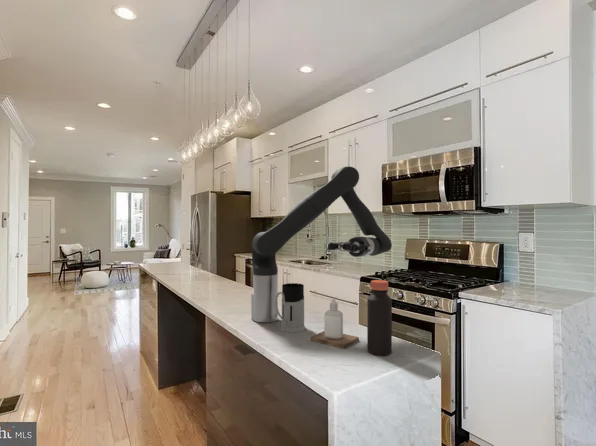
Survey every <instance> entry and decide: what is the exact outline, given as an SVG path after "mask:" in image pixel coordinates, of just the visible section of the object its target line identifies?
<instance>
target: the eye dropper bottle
mask: <svg viewBox="0 0 596 446" xmlns="http://www.w3.org/2000/svg"><path fill="white" fill-rule="evenodd" d="M331 300H332V301H331V302H329V309H328V310H326V311H325V312H324V331H325V337H327V338H332V339H341V338H342V337H343V334H344V315H343V312H342V311H341V310H339V309H338V308H339V306H338V305H339V304H338V302H336V298H334V297H333V298H332V299H331Z"/></svg>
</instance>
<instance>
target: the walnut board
mask: <svg viewBox="0 0 596 446" xmlns="http://www.w3.org/2000/svg"><path fill="white" fill-rule="evenodd" d="M359 340H360V337H359V336H354V335H351V334H346V333H343V337H342V338H341V339H332V338H327V337H325V330H324V331H321V332H319V333H317V334H315V335H313V336H310V341H311V342H315V343H321V344H323V345H324V344H325V345H328V346H332V347H337V348H341V349H347V348H349V347H350V346H352V345H354V344H355V343H357V342H358V341H359Z"/></svg>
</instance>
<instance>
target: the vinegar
mask: <svg viewBox="0 0 596 446" xmlns="http://www.w3.org/2000/svg"><path fill="white" fill-rule="evenodd" d="M370 291H371V294H370V295H369V296H368V297H367V302H366V304H367V307H366V308H367V309H366V310H367V314H366V315H367V318H366V319H367V321H366V323H367V325H366V326H367V327H366V328H367V331H366V332H367V333H366V334H367V336H366V338H367V341H366V342H367V345H366V346H367V347H366V348H367V349H366V350H367V352H368V353H369V354H371V355H374V356H380V357H383V356H384V357H386V356H390V355H391V354H393V353H392V352H393V348H392V347H393V346H392V345H393V343H392V342H393V338H392V337H393V335H392V333H393V329H392V328H393V326H392V325H393V324H392V323H393V318H392V317H393V316H392V315H393V312H392V311H393V308H392V306H393V303H392V302H393V299H392V298H391V296H389V295H388V292H389V281H388V280H384V279H372V280H371V281H370Z"/></svg>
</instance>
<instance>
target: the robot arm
mask: <svg viewBox="0 0 596 446" xmlns="http://www.w3.org/2000/svg"><path fill="white" fill-rule="evenodd" d="M359 180H360V174H359V171H358V170H357V168H355V167H353V166H349V165H348V166H347V165H346V166H343V167H341V168H339V169H337V170H335V171H334V172H333V173H332V175H331V178H330V180H328V182H327V183H326V184H324V185H322V186H321V187H318V188H317V189H316V190H314V191H312V192H311V193H309V194H308V195H306V196H305V197H303V198H302V199H301V200H299V201H298V202H297V203H296V204H294V206H293V207H292V208H291V209H290V210H289V211H288V212H287V214H286V215H285V217H283V219H281V221H279V222H278V223H277V224H276V225H274V226H273V227H271V228H269V229H267V231H261V232H257V233H256V235H255V236H254V237H253V239H252V242H251V264H252V272H253V276H252V277H253V281H252V282H253V283H252V285H253V288H252V289H253V293H251V294H250V295H251V298H250V299H251V301H250V303H251V304H250V305H251V306H250V307H251V308H250V309H251V310H250V311H251V313H250V314H251V315H250V316H251V320H253V321H254V322H256V323H272V322H276V321H278V318H279V316H278V314H277V311H276V306H275V298H276V295H277V293H279V290H278V289H279V284H278V283H279V280H278V279H279V276H278V275H279V273H278V272H279V271H278V270H279V269H278V265H277V259H276V254H278V252H279V251H280V250H281V249H282V248H283V247H284V246H285V245H286V244H287V243H288V241H290V240H291V238H293V237H294V236H295V235H296V234H298V233H299V232H301V231H303V229H305V228H306V227H307V226H308V225H310V224H311V223H312V222H313V221H315V220H316V219H317V218H318V217H319V216H320V215H322V214H323V213H324V212H325V211H326V210H327V209H329V207H330V206H331V205H332V204H333V203H334V202H335V201H336V200H337V199H339V198H340V197H341V198H342V200H343V201H344V203H345V204H346V206H347V208H348V209H349V211H350V212H351V214H352V216H353V217H354V219H355V221H356V223H357V225H358V227H359V228H360V231H361V232H362V234H363V235H364V236H353V237H351V238H349V239H348V241H347V240H346V241H337V242H329V243H327V249H328V250H329V251H338V252H346V253H349V254H350V256H352V257H353V258H358V257H359V258H360V257H366V256H371V257H375V256H378V255H381V254H384V253H388V252H390V250H392V247H393V246H392V245H393V244H392V241H391V238H390V237H389V236H388V235H387V234H386V233H385V232H384V231H383V230H382V229H381V227H380V226H379V225H378V223H377V220H376V219H375V218H374V215H373V213H372V212H371V211H370V209H369V208H368V207H367V205H366V204H364V202H363V201H362V200H361V198H360V197H359V196H358V194H357V193H356V191H355V189H354V188H355V187H357V185H358V183H359ZM370 236H371V237H370ZM372 236H374V237H372ZM278 298H279V297H278ZM278 298H277V306H278V305H279V304H278V303H279V301H278Z"/></svg>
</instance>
